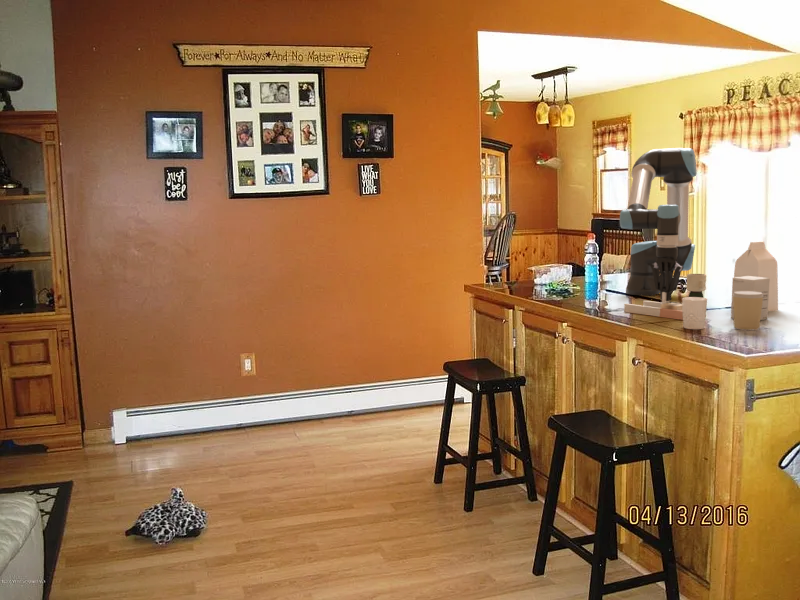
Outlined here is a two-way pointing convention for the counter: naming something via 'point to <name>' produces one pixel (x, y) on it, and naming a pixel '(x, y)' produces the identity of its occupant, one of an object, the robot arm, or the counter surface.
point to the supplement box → (752, 285)
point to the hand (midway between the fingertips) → (665, 309)
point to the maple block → (672, 306)
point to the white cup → (694, 312)
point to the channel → (653, 310)
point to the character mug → (696, 284)
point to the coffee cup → (747, 309)
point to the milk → (760, 269)
